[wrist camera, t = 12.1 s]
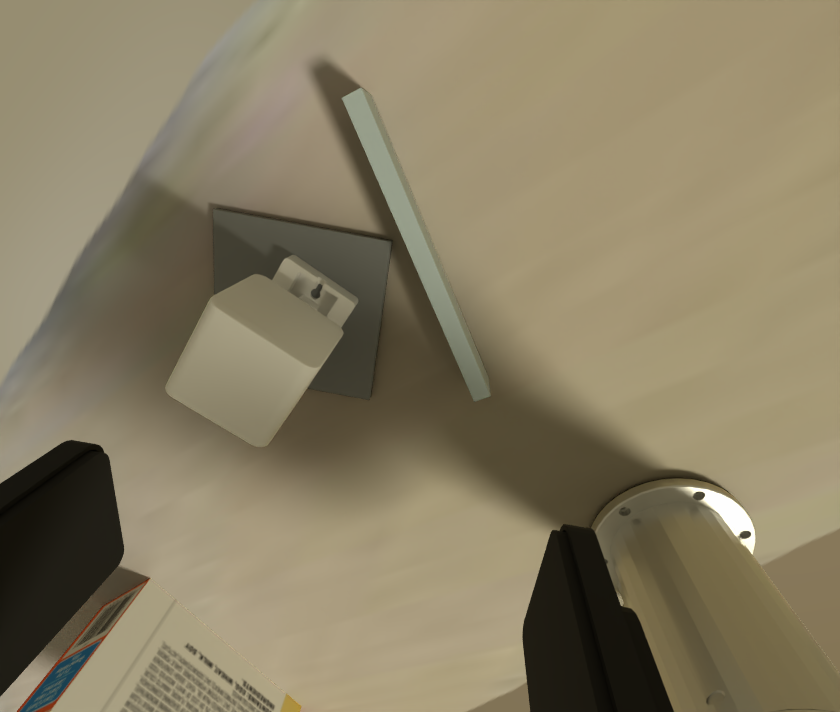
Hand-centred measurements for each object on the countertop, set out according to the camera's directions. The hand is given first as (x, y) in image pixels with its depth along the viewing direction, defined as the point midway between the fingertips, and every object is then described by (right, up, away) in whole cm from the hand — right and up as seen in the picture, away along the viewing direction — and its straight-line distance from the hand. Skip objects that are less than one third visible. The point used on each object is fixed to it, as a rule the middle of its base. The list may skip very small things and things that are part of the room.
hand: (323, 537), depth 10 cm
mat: (-7, +7, +23) cm, 25 cm away
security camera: (-6, +7, +23) cm, 25 cm away
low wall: (+3, +11, +21) cm, 24 cm away
